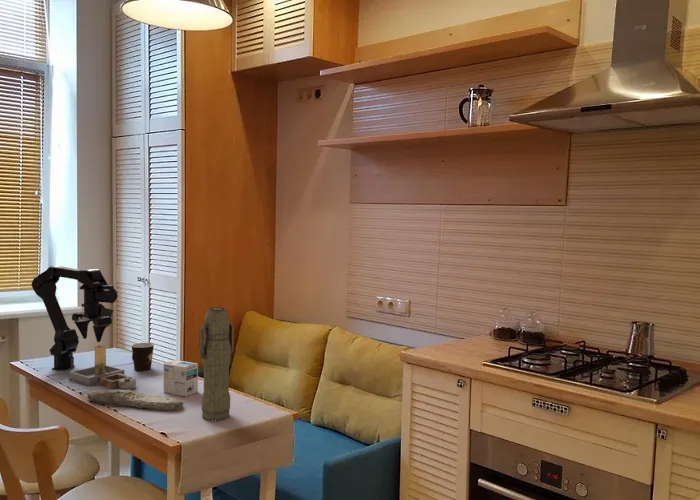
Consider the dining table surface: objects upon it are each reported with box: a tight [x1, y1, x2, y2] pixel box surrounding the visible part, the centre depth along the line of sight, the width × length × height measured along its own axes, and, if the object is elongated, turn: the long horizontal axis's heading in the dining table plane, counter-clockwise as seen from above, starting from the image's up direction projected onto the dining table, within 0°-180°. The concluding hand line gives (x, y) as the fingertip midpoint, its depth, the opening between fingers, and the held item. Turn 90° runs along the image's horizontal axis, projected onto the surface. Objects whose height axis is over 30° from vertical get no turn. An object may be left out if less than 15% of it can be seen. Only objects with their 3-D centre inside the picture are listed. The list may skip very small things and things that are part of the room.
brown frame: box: [98, 373, 137, 391], centre depth 230 cm, size 14×8×3 cm, turn 55°
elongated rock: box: [86, 388, 184, 412], centre depth 209 cm, size 35×5×10 cm
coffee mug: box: [131, 342, 155, 372], centre depth 251 cm, size 12×9×10 cm
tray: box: [68, 364, 125, 387], centre depth 238 cm, size 13×15×3 cm
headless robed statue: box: [198, 307, 235, 422], centre depth 198 cm, size 9×12×35 cm
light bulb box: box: [163, 359, 199, 397], centre depth 223 cm, size 11×7×11 cm, turn 65°
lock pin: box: [94, 345, 107, 376], centre depth 237 cm, size 4×4×12 cm
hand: (91, 340), depth 245 cm, fingers open, 9 cm apart
